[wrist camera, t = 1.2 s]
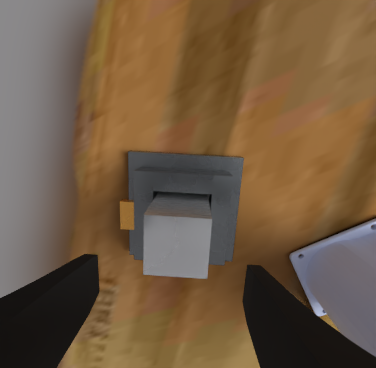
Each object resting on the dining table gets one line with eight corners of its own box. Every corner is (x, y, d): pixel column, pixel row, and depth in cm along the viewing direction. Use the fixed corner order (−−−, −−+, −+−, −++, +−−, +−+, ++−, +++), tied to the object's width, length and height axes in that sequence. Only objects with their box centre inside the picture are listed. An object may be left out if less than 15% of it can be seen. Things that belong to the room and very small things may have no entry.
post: (206, 189, 18) (213, 218, 12) (203, 232, 19) (208, 279, 13) (160, 187, 18) (142, 213, 12) (159, 229, 19) (142, 275, 13)
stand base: (241, 156, 19) (251, 161, 15) (230, 255, 21) (237, 278, 18) (131, 150, 19) (117, 154, 16) (132, 249, 21) (120, 270, 18)
